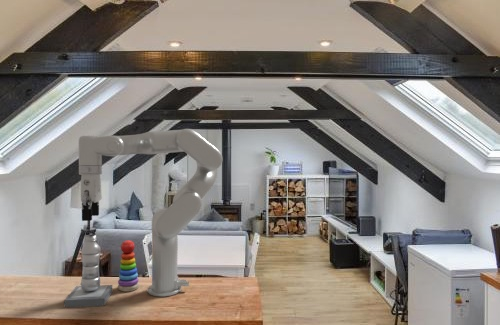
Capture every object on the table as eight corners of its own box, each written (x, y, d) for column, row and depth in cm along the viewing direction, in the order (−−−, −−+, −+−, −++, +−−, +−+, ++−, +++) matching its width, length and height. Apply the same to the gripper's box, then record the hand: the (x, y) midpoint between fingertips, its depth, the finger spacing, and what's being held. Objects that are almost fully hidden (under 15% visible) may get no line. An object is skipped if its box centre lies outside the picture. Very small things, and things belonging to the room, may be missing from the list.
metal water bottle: (77, 290, 136) (77, 235, 135) (96, 285, 140) (96, 232, 140) (84, 295, 131) (85, 238, 130) (103, 290, 136) (103, 235, 135)
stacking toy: (141, 284, 149) (141, 238, 149) (135, 292, 141) (136, 243, 141) (121, 284, 149) (121, 238, 148) (114, 292, 141) (115, 243, 141)
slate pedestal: (112, 291, 142) (112, 284, 142) (104, 305, 129) (104, 297, 129) (76, 292, 140) (76, 285, 140) (64, 307, 127) (64, 299, 127)
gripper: (95, 171, 125) (95, 222, 126) (106, 169, 142) (107, 213, 143) (71, 171, 124) (72, 222, 125) (86, 169, 141) (86, 214, 142)
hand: (90, 217), depth 134 cm, fingers open, 9 cm apart
